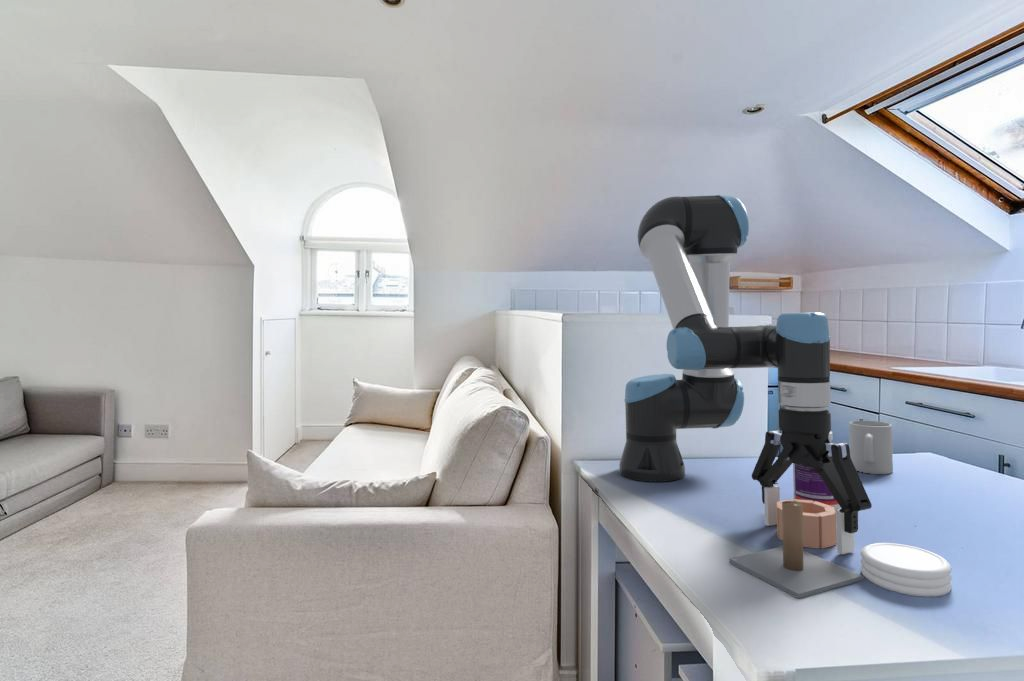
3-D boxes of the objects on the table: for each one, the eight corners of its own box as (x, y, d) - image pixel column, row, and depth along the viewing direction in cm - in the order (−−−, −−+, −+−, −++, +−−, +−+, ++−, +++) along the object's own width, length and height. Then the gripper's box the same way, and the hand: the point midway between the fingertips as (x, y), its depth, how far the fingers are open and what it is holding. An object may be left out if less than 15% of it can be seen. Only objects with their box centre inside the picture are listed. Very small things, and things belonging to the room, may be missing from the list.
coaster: (971, 593, 71) (971, 566, 71) (907, 603, 69) (907, 575, 69) (901, 561, 81) (901, 538, 81) (844, 570, 79) (843, 545, 79)
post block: (729, 562, 82) (728, 498, 82) (789, 548, 86) (788, 487, 86) (798, 598, 71) (797, 524, 71) (863, 580, 75) (862, 510, 75)
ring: (765, 533, 93) (765, 503, 93) (802, 525, 96) (801, 496, 96) (809, 551, 85) (809, 519, 85) (847, 542, 88) (847, 511, 88)
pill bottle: (849, 514, 101) (847, 435, 100) (801, 513, 102) (799, 435, 102) (832, 500, 109) (831, 427, 108) (788, 499, 110) (787, 427, 110)
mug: (851, 463, 136) (850, 419, 136) (893, 468, 131) (892, 422, 131) (846, 475, 126) (846, 427, 126) (892, 480, 121) (891, 430, 121)
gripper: (729, 401, 100) (731, 517, 100) (862, 419, 77) (864, 571, 77) (760, 398, 103) (763, 511, 103) (897, 415, 80) (900, 561, 80)
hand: (806, 537), depth 90 cm, fingers open, 13 cm apart
